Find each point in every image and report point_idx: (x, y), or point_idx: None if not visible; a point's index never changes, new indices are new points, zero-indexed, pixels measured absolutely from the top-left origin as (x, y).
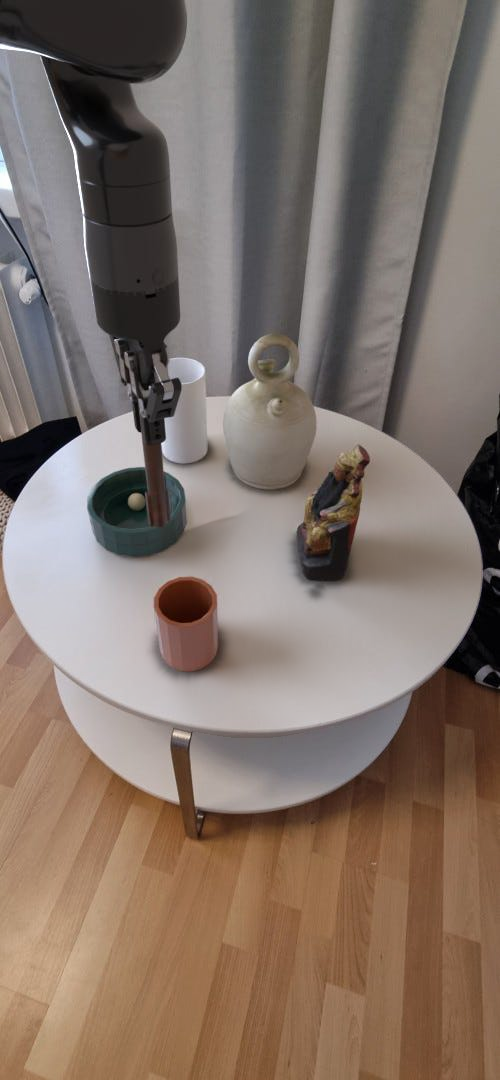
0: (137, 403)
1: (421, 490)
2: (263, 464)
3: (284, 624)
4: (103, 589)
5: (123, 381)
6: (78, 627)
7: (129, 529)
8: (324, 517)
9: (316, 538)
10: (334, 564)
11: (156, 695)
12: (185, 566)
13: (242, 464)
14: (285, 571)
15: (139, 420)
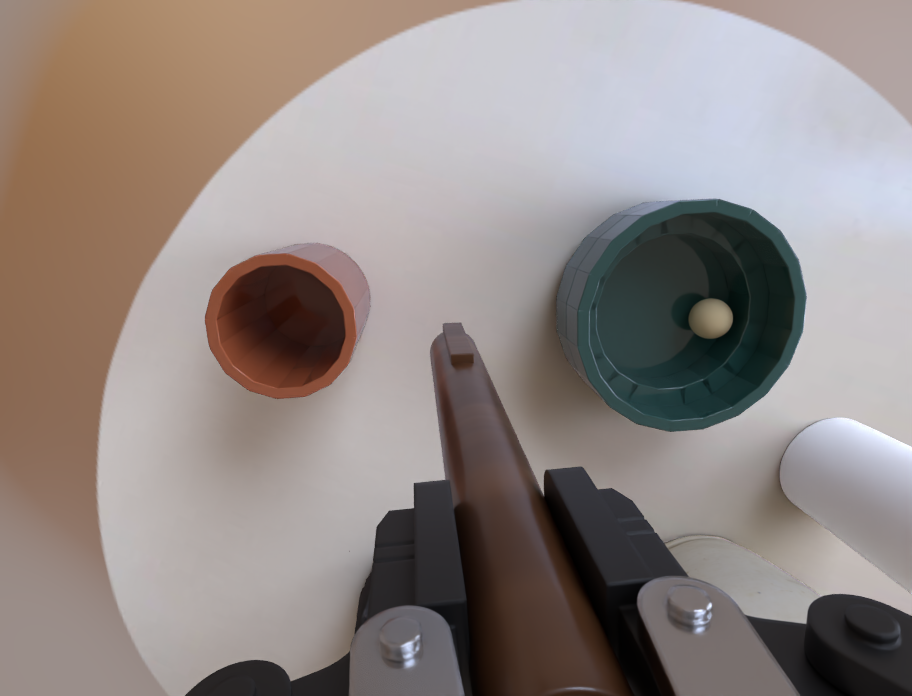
0: (606, 604)
1: None
2: None
3: (301, 475)
4: (516, 180)
5: (850, 630)
6: (440, 102)
7: (601, 275)
8: None
9: None
10: (359, 621)
11: (231, 205)
12: (505, 356)
13: (687, 572)
14: None
15: (565, 520)
